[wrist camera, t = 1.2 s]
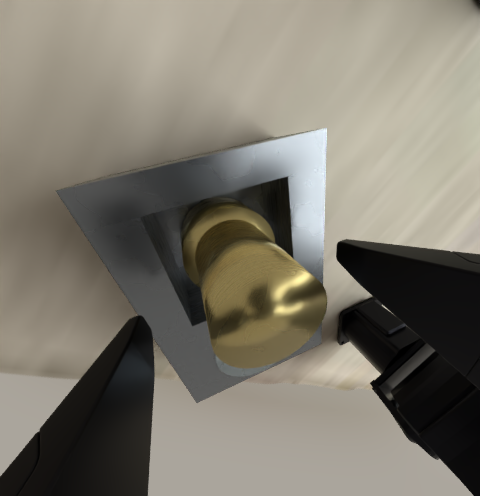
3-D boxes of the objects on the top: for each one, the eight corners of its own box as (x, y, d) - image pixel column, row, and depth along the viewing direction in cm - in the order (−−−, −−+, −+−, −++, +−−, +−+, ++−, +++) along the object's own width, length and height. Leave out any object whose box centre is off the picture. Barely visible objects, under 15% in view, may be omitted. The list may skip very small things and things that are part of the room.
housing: (290, 304, 21) (322, 345, 16) (191, 345, 18) (197, 406, 14) (274, 137, 13) (329, 127, 8) (102, 177, 11) (52, 191, 6)
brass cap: (260, 254, 15) (338, 342, 8) (195, 277, 14) (216, 400, 7) (249, 187, 12) (347, 226, 5) (168, 209, 11) (157, 294, 4)
